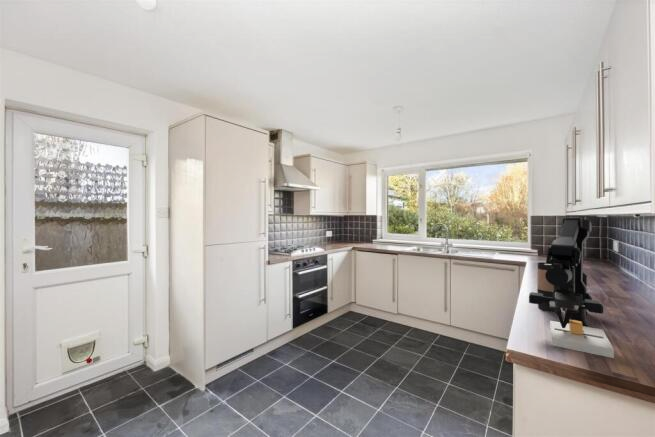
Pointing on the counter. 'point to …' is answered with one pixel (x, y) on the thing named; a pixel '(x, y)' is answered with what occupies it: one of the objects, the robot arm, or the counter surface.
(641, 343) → the counter surface
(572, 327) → the fader knob
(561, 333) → the fader console
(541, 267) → the travel mug
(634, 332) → the counter surface
